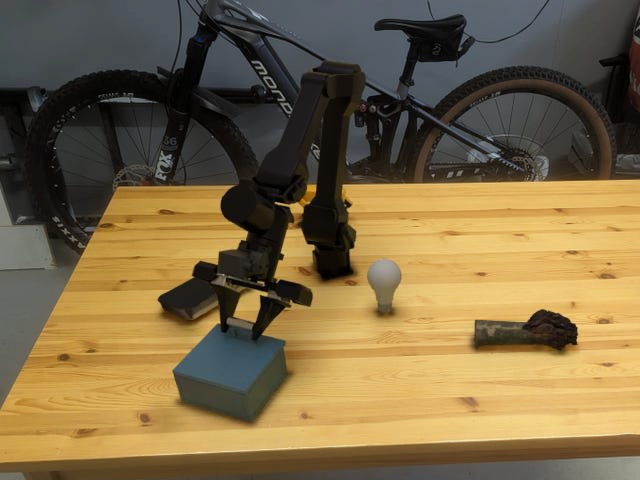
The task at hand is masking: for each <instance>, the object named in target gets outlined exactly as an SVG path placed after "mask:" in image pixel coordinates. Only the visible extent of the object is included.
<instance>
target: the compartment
mask: <svg viewBox="0 0 640 480" xmlns="http://www.w3.org/2000/svg"><path fill="white" fill-rule="evenodd" d="M288 374H289V372H288V365H287V360H286V352H285V347H284V348H283V349H282V350H281V351H280V353H279V354H278V355H277V356H276V358H275V359H274V360H273V361H272V363H271V364H270V365H269V366H268V368H267V369H266V370H265V371H264V373H263V374H262V375H261V376H260V378H259V379H258V380H257V381H256V383H255V384H254V385H253V386H252V388H251V389H250V390H249V391H248V393H247V394H246V395H245V394H241V393H238V392H234V391H231V390H227V389H224V388H220V387H217V386H213V385H210V384H206V383H203V382H199V381H196V380H192V379H189V378H185V377H181V376H178V375H174V374H173V379H174V382H175V385H176V388H177V391H178V395H179V397H180V401H181V402H182V403H185V404H189V405H191V406H196V407H199V408H202V409H206V410H209V411H213V412H215V413H219V414H223V415H226V416H229V417H233V418H236V419H238V420H243V421H247V422H250V423H253V421H254V420H255V418H256V417H257V416H258V414H260V412H261V410H262V409H263V408H264V406H265V405H266V403H268V401H269V400H270V399H271V397H272V396H273V394H274V393H275V392H276V390H278V388H279V387H280V385H281V384H282V382H283V381H284V380H285V379H286V377H287V376H288Z"/></svg>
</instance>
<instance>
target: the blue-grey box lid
mask: <svg viewBox="0 0 640 480" xmlns="http://www.w3.org/2000/svg"><path fill="white" fill-rule="evenodd" d="M255 322H256V321H251V320H247V319H244V318H240V317H236V316H233V317H232V316H229V317H228V318H227V322H226V323H227V325H228V326H230V327H229V329H228V331H227V333H222V332H221V325H220V322H219V323H216V324H215V325H214V326H213V327H212V328H211V330H209V331H208V333H207V334H206V335H205V336H204V337H203V338H202V339H201V340H200V341H198V343H197V344H196V345H195V346H194V347H193V348H192V349H191V350H190V351H189V352H188V353H187V354H186V355H185V356H184V357H183V359H182V360H181V361H180V362H179V363H178V364H177V365H176V366H175V367H174V368H173V369H172V370H171V371H172V374H173V376H174V375H178V376H181V377H185V378H189V379H192V380H196V381H199V382H203V383H206V384H210V385H213V386H217V387H220V388H224V389H227V390H231V391H234V392H238V393H241V394H245V395H246V394H247V393H248V391H249V390H250V389H251V388H252V386H253V385H254V384H255V383H256V381H257V380H258V379H259V378H260V376H261V375H262V374H263V373H264V371H265V370H266V369H267V368H268V366H269V365H270V364H271V363H272V361H273V360H274V359H275V358H276V356H277V355H278V354H279V353H280V351H281V350H282V349H283V348H284V349H285V347H286V345H287V341H286V339H285V340H284V339H281V338H277V337H273V336H269V335H266V334H262V335H261V336H260V337H259V338H258V340H257V341H253V340H252V339H251V338H252V333H253V329H254V325H255Z"/></svg>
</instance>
